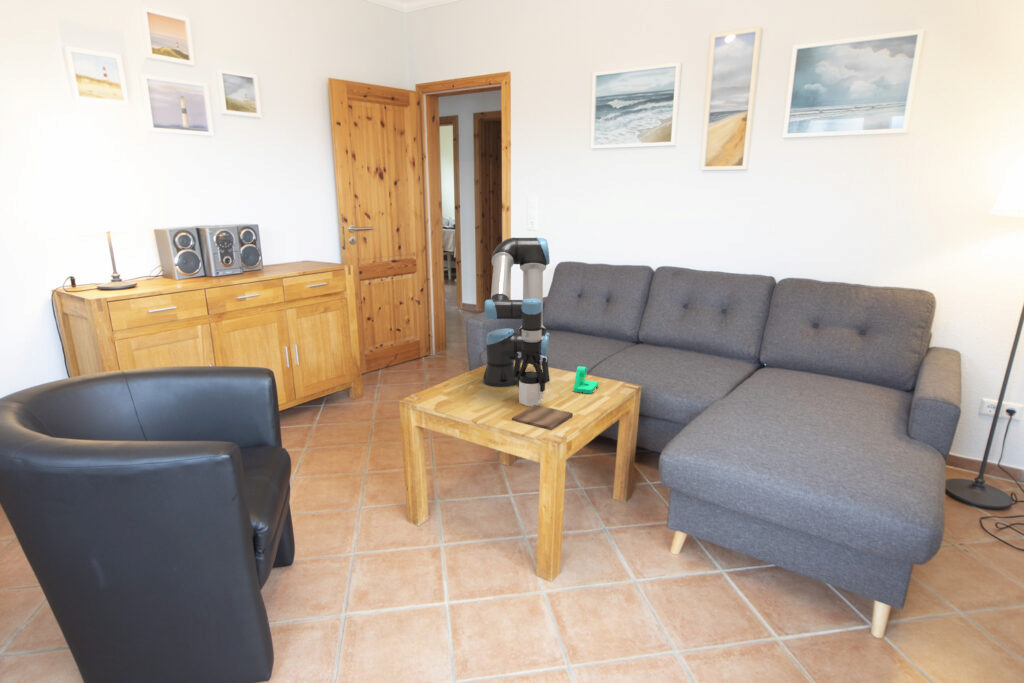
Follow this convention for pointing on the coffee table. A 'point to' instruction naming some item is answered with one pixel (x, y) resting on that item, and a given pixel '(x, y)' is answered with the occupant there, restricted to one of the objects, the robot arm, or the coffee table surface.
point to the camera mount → (583, 381)
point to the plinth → (543, 417)
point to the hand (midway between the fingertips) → (531, 397)
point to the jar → (529, 389)
